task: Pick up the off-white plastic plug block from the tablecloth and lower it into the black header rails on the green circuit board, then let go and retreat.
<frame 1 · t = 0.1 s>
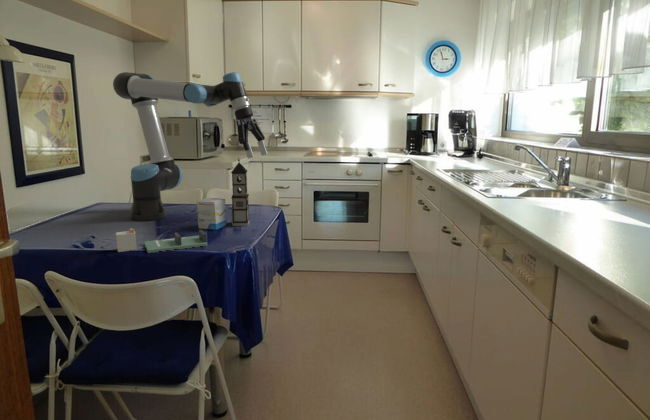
hand: (258, 156, 199), 28 cm above the table, tool tilted 20°, fingers open, 13 cm apart
plug: (127, 249, 159), on the table
board: (175, 245, 164), on the table
miniature building: (240, 224, 195), on the table
ink box: (212, 227, 190), on the table
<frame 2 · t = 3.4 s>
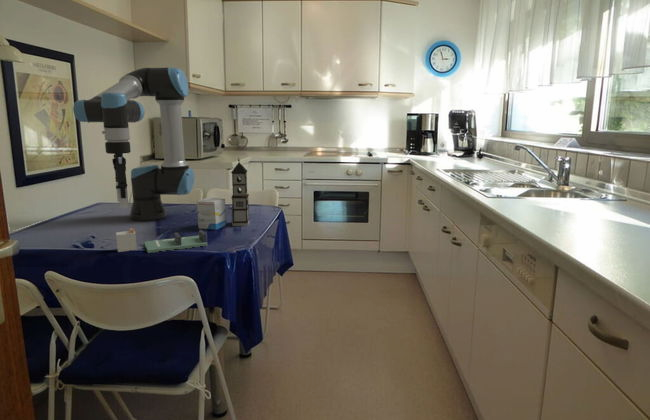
hand: (122, 204, 155), 16 cm above the table, tool pointing down, fingers open, 13 cm apart
nothing on the table moved.
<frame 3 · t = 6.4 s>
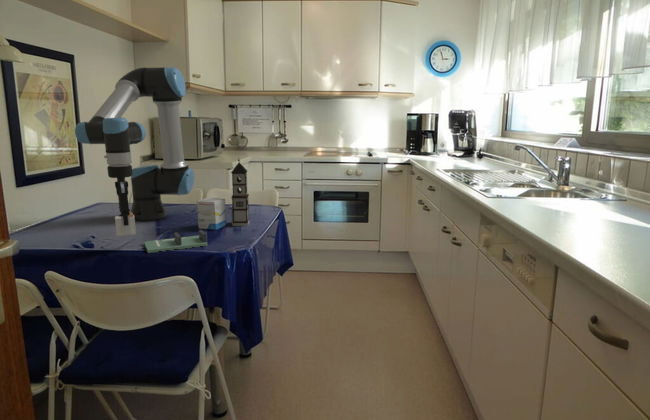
hand: (126, 232, 158), 6 cm above the table, tool pointing down, fingers closed on plug, 4 cm apart
plug: (126, 233, 158), point 5 cm above the table, touching gripper
everything else where it was.
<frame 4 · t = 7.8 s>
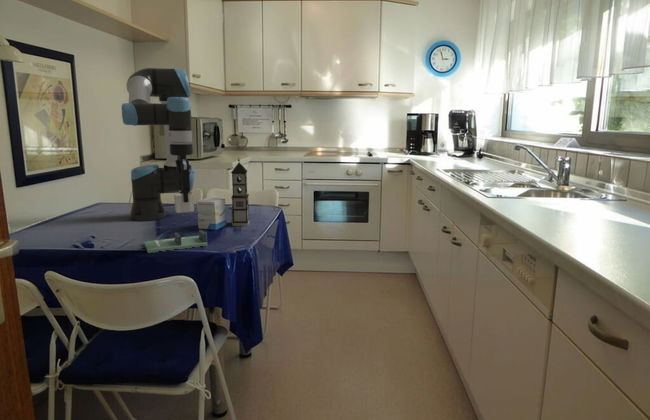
hand: (185, 209, 162), 13 cm above the table, tool pointing down, fingers closed on plug, 4 cm apart
plug: (184, 211, 162), point 12 cm above the table, touching gripper
everything else where it was.
when the fingers open (1 cm above the table, at t = 9.3 s): plug stays where it is, resting on board.
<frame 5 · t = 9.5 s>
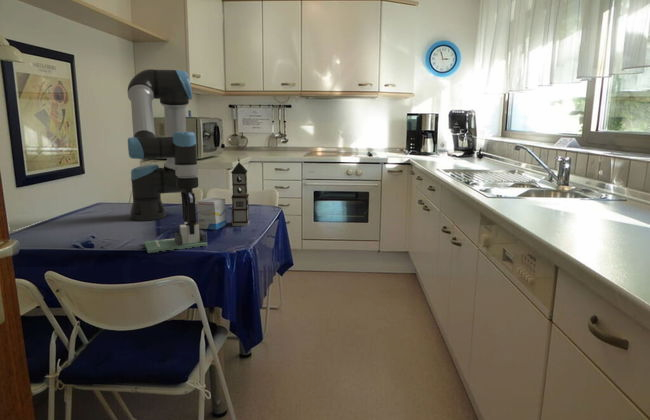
hand: (190, 240, 165), 1 cm above the table, tool pointing down, fingers open, 5 cm apart
plug: (190, 241, 165), point 1 cm above the table, touching board, gripper
everything else where it was.
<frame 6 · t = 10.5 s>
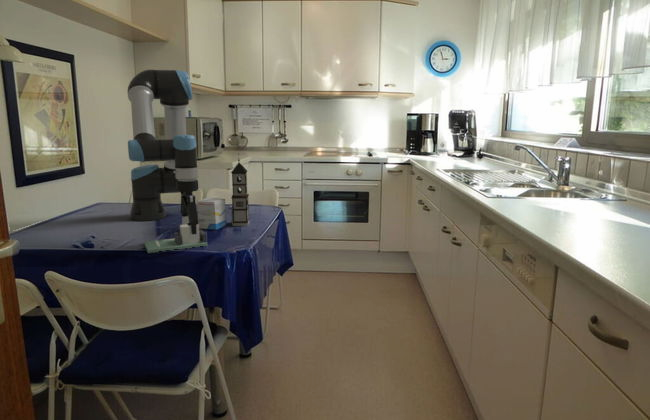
hand: (190, 238, 165), 2 cm above the table, tool pointing down, fingers open, 13 cm apart
plug: (190, 241, 165), point 1 cm above the table, touching board
everything else where it was.
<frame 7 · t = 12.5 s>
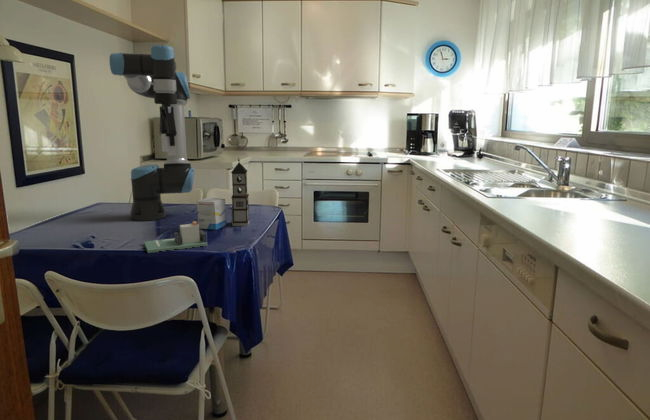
hand: (169, 153, 165), 32 cm above the table, tool pointing down, fingers open, 13 cm apart
nothing on the table moved.
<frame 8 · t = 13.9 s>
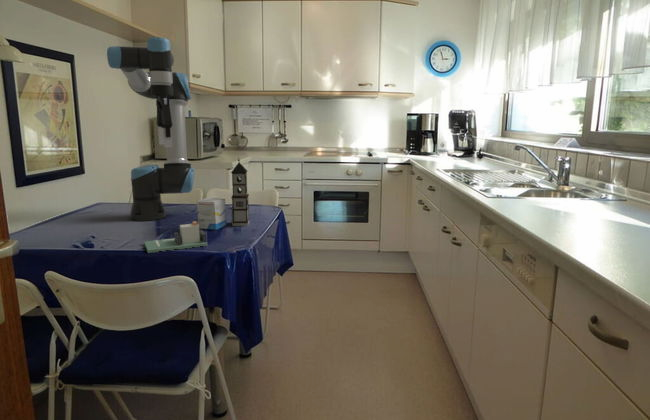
hand: (165, 145, 165), 35 cm above the table, tool pointing down, fingers open, 13 cm apart
nothing on the table moved.
at the end: plug 0.2 cm from the target spot on the board, point 1.0 cm above the board's base; plug tilted 0°; the gripper is holding nothing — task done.
